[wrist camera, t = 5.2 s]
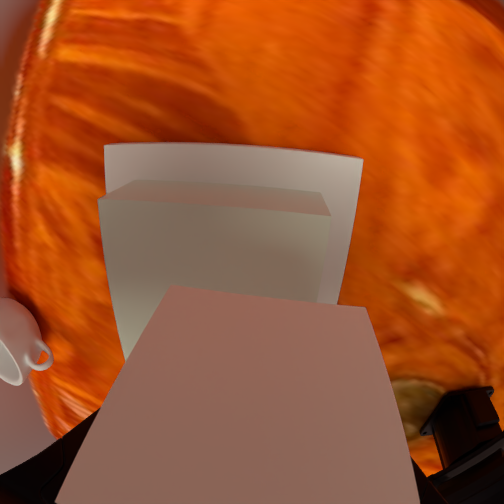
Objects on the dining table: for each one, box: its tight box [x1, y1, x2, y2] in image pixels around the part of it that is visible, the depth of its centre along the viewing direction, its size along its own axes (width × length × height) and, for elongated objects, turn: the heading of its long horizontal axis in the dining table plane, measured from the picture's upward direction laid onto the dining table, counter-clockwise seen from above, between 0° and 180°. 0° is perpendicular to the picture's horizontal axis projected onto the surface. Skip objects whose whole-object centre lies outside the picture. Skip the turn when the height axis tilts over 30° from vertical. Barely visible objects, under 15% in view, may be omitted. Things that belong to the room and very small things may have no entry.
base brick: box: [98, 180, 332, 361], centre depth 16 cm, size 10×10×4 cm
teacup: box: [0, 298, 54, 386], centre depth 21 cm, size 10×8×5 cm
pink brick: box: [55, 285, 420, 504], centre depth 6 cm, size 5×5×6 cm
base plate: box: [104, 142, 363, 305], centre depth 18 cm, size 14×14×1 cm
